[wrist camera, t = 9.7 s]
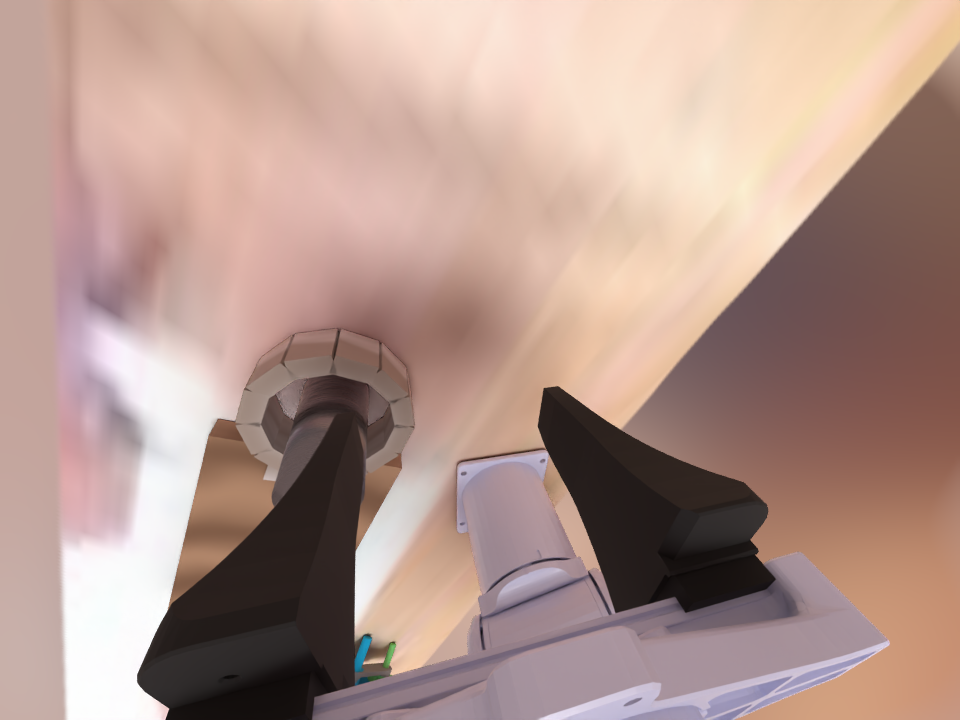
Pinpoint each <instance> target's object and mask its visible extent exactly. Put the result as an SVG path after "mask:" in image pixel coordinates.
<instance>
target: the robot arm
mask: <svg viewBox="0 0 960 720" xmlns="http://www.w3.org/2000/svg"><path fill="white" fill-rule="evenodd" d="M538 428H539V431H540V434H541V437H542V439H543V442H544V445H545V447H546V449H547V451H548V452H547V451H546V450H539V451H532V452H525V453H519V454H512V455H506V456H499V457H493V458H486V459H479V460H473V461H466V462H461V463H459V464H458V466H457V520H456V528H457V532H458V533H464V532H468V534H469V539H470V544H471V548H472V553H473V557H474V562H475V567H476V571H477V576H478V581H479V585H480V590H481V593H482V595H481V596H479V597H478V601H479V606H480V611H481V614H479V615H476V616H474V617H473V619H472V622H471V626H470V628H469V631H468V636H467V645H468V646H467V647H468V655H464V656H461V657H457V658H454V659H450V660H447V661H443V662H439V663H436V664H432V665H429V666H425V667H421V668H418V669H414V670H411V671H407V672H403V673H400V674H396V675H393V676H389V677H385V678H382V679H378V680H375V681H371V682H368V683H364V684H360V685H357V686H355V646H354V610H355V550H356V537H357V529H358V521H359V513H360V504H361V496H362V487H363V478H364V457H363V448H362V443H361V438H360V433H359V429H358V424H357V419H356V415H355V412H349V413H341V414H336V415H335V416H334V418H333V420H332V422H331V424H330V426H329V428H328V430H327V432H326V433H325V435H324V437H323V439H322V440H321V442H320V444H319V446H318V447H317V449H316V450H315V452H314V454H313V455H312V457H311V458H310V460H309V462H308V463H307V465H306V466H305V467H304V469H303V470H302V472H301V473H300V474H299V476H298V477H297V479H296V480H295V482H294V483H293V484H292V486H291V487H290V488H289V490H288V491H287V492H286V493H285V495H284V496H283V497H282V498H281V500H280V501H279V502H278V503H277V504H276V506H275V507H274V508H273V509H272V510H271V511H270V512H269V514H268V515H267V516H266V517H265V518H264V519H263V520H262V521H261V522H260V524H259V525H258V526H257V527H256V528H255V529H254V530H253V531H252V532H251V533H250V534H249V535H248V536H247V537H246V538H245V539H244V540H243V541H242V542H241V543H240V544H239V545H238V546H237V547H236V548H235V549H234V550H233V551H232V552H231V553H230V554H229V555H228V556H226V557H225V558H224V559H223V560H222V561H221V562H220V563H219V564H218V565H217V566H216V567H215V568H214V569H212V570H211V571H210V572H209V573H208V574H207V575H205V576H204V577H203V578H202V579H201V580H199V581H198V582H197V583H196V584H195V585H193V586H192V587H191V588H190V589H189V590H187V591H186V592H185V593H184V594H183V595H181V596H180V597H179V598H178V599H176V600H175V601H174V602H173V603H172V604H171V605H170V607H169V609H168V611H167V613H166V615H165V616H164V618H163V620H162V622H161V623H160V625H159V627H158V629H157V631H156V633H155V636H154V638H153V640H152V642H151V645H150V647H149V649H148V651H147V654H146V656H145V658H144V660H143V663H142V665H141V667H140V669H139V672H138V674H137V683H138V684H139V686H140V687H141V688H142V689H143V690H144V691H145V692H146V693H147V694H149V695H150V696H152V697H153V698H155V699H156V700H158V701H159V702H161V703H162V704H163V705H165V706H166V707H168V708H169V711H168V714H167V717H166V720H735V719H737V718H739V717H742V716H744V715H746V714H749V713H751V712H753V711H756V710H758V709H760V708H763V707H765V706H767V705H770V704H772V703H775V702H777V701H779V700H782V699H784V698H786V697H789V696H791V695H794V694H796V693H799V692H801V691H804V690H806V689H809V688H811V687H814V686H817V685H819V684H822V683H824V682H827V681H830V680H832V679H835V678H837V677H839V676H840V675H842V674H843V673H845V672H847V671H848V670H850V669H852V668H853V667H855V666H856V665H858V664H860V663H861V662H863V661H864V660H866V659H868V658H869V657H871V656H873V655H874V654H876V653H878V652H879V651H881V650H882V649H884V648H886V647H887V646H889V645H890V643H889V640H888V639H887V638H886V637H885V636H884V635H883V634H882V633H881V632H880V631H879V630H878V629H877V628H876V627H875V626H874V625H873V624H872V623H871V622H870V621H869V620H868V619H867V618H866V617H865V616H864V615H863V614H862V613H861V612H860V611H859V610H858V609H857V608H856V607H855V606H854V605H853V604H852V603H851V602H850V601H849V600H848V599H847V598H846V597H845V596H844V595H843V594H842V593H841V592H840V591H839V590H838V589H837V588H836V587H835V586H834V585H833V584H832V583H831V582H830V581H829V580H828V579H827V578H826V577H825V576H824V575H823V574H822V573H821V572H820V571H819V569H818V568H817V567H815V566H814V564H813V563H811V562H810V560H809V559H808V558H807V557H806V556H805V555H804V554H803V553H801V552H795V553H791V554H787V555H784V556H780V557H776V558H773V559H771V560H768V561H767V562H765V563H764V564H762V562H761V561H760V560H759V559H758V558H757V557H756V556H755V554H757V553H758V552H759V551H758V548H756V546H755V545H754V544H753V543H752V542H751V541H750V539H751V538H752V537H753V535H754V534H755V533H756V532H757V530H758V529H759V528H760V527H761V525H762V524H763V523H764V521H765V519H766V518H767V514H768V507H767V504H766V503H764V502H763V501H762V500H761V499H760V498H759V497H758V496H757V495H756V494H755V493H754V492H753V491H752V490H751V489H750V488H749V487H748V486H747V485H746V484H745V483H744V482H741V481H738V480H735V479H731V478H728V477H725V476H722V475H718V474H715V473H712V472H709V471H707V470H704V469H701V468H698V467H696V466H693V465H691V464H688V463H686V462H683V461H681V460H678V459H676V458H674V457H672V456H669V455H667V454H665V453H663V452H661V451H658V450H656V449H654V448H652V447H650V446H648V445H646V444H644V443H642V442H641V441H639V440H637V439H635V438H633V437H632V436H630V435H628V434H626V433H625V432H623V431H622V430H620V429H618V428H617V427H615V426H614V425H612V424H610V423H609V422H607V421H606V420H604V419H603V418H601V417H600V416H599V415H597V414H596V413H594V412H593V411H591V410H590V409H589V408H587V407H586V406H585V405H583V404H582V403H580V402H579V401H578V400H576V399H575V398H574V397H572V396H571V395H570V394H568V393H567V392H565V391H564V390H563V389H561V388H560V387H558V386H557V387H549V388H544V390H543V396H542V403H541V409H540V415H539V422H538ZM548 453H549V454H548ZM549 455H550V457H551V459H552V461H553V463H554V465H555V467H556V468H557V470H558V472H559V474H560V476H561V478H562V479H563V481H564V483H565V485H566V487H567V489H568V491H569V492H570V494H571V496H572V498H573V500H574V502H575V504H576V506H577V509H578V511H579V514H580V516H581V519H582V521H583V523H584V526H585V528H586V531H587V533H588V536H589V539H590V541H591V544H592V546H593V549H594V551H595V554H596V557H597V560H598V563H599V565H600V568H601V571H602V572H600V571H599V570H598V569H596V568H593V569H591V570H589V571H588V572H587V570H586V568H585V566H584V564H583V561H582V560H581V557H576V555H575V553H574V550H573V548H572V546H571V544H570V542H569V540H568V537H567V535H566V533H565V531H564V529H563V527H562V524H561V522H560V520H559V518H558V515H557V513H556V511H555V509H554V507H553V504H552V502H551V500H550V498H549V496H548V493H547V491H546V489H545V487H544V485H543V481H544V476H545V471H546V467H547V462H548V457H549Z"/></svg>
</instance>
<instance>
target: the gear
mask: <svg viewBox="0 0 960 720" xmlns="http://www.w3.org/2000/svg"><path fill="white" fill-rule="evenodd" d="M371 640H372V638H371V637H370V636H365V635H364V637H363V639H362V642H361V645H360V647H359V650H358V653H357V655H356V658H355V686H357V685H360V684H364V683H368V682H371V681H375V680H378V679H382V678H385V677H389V676H392V675H390V673H391V670H392V668H391V666H389V664H390V661H391V658H392V656H393V653H394V650H395V647H396V644H395V643H390V646H389V649H388V652H387V655H386V658H385V660H384V663H376V664H364V665H363V662H364V659H365V657H366V654H367V651H368V649H369V646H370V643H371Z"/></svg>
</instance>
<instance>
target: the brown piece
mask: <svg viewBox="0 0 960 720" xmlns="http://www.w3.org/2000/svg"><path fill="white" fill-rule="evenodd" d="M326 375H337V376H341V377H345V378H348V379H352V380H356V381H360V382H363V383H367V384H369V385H370V386H371V387H372V388H373V389H374V390H376V391H377V392H378V393H379V394H380V395H381V396H382V397H383V398H384V399H386V400H387V401H388V402H389V403H390V405H389V407H388V409H387V411H386V413H385V415H384V417H382V418H381V419H379V420H378V421H376V422H375V423H373V424H372V425H370V426H369V427H368V429H367V452H366V475H365V495H364V499H363V502H362V503H361V505H360V513H359V521H358V529H357V537H356V549H357V548H358V546H359V544H360V542H361V540H362V539H363V537H364V535H365V533H366V531H367V530H368V528H369V526H370V524H371V523H372V521H373V519H374V517H375V515H376V514H377V512H378V510H379V508H380V506H381V505H382V503H383V501H384V499H385V498H386V496H387V494H388V492H389V490H390V489H391V487H392V485H393V483H394V481H395V480H396V478H397V476H398V474H399V472H400V471H401V469H402V463H401V452H402V450H403V448H404V446H405V444H406V443H407V441H408V439H409V437H410V435H411V433H412V432H413V430H414V426H415V423H414V414H413V405H412V396H411V390H410V385H409V379H408V373H407V369H406V366H405V365H404V364H403V363H402V362H401V361H400V360H399V359H398V358H397V357H396V356H395V355H394V354H393V353H392V352H391V351H390V350H389V349H388V348H387V347H386V346H385V345H384V344H383V343H381V344H380V345H379V341H378V340H375V339H371V338H368V337H365V336H362V335H359V334H356V333H353V332H350V331H346V330H343V329H341V331H340V333H338V329H329V330H321V331H313V332H305V333H297V334H295V336H293V335H291V336H290V337H288V338H287V339H286V340H284V341H283V342H282V343H280V344H279V345H277V346H276V347H275V348H273V349H272V350H270V351H269V352H268V353H266V354H265V355H264V356H262V357H261V359H260V360H259V362H258V364H257V366H256V368H255V370H254V372H253V373H252V375H251V377H250V379H249V381H248V383H247V385H246V387H245V389H244V391H243V395H242V398H241V402H240V406H239V409H238V413H237V417H236V420H235V422H232V421H227V420H221V419H218V420H217V422H216V424H215V425H214V427H213V429H212V431H211V433H210V434H209V436H208V441H207V445H206V449H205V453H204V458H203V462H202V466H201V471H200V475H199V479H198V483H197V488H196V492H195V496H194V500H193V505H192V509H191V513H190V517H189V522H188V526H187V530H186V534H185V539H184V543H183V547H182V551H181V556H180V560H179V564H178V568H177V573H176V577H175V581H174V586H173V590H172V594H171V598H170V603H169V607H170V605H171V604H172V603H173V602H174V601H175V600H176V599H178V598H179V597H180V596H181V595H183V594H184V593H185V592H186V591H187V590H189V589H190V588H191V587H192V586H193V585H195V584H196V583H197V582H198V581H199V580H201V579H202V578H203V577H204V576H205V575H207V574H208V573H209V572H210V571H211V570H212V569H214V568H215V567H216V566H217V565H218V564H219V563H220V562H221V561H222V560H223V559H224V558H225V557H226V556H228V555H229V554H230V553H231V552H232V551H233V550H234V549H235V548H236V547H237V546H238V545H239V544H240V543H241V542H242V541H243V540H244V539H245V538H246V537H247V536H248V535H249V534H250V533H251V532H252V531H253V530H254V529H255V528H256V527H257V526H258V525H259V524H260V522H261V521H262V520H263V519H264V518H265V517H266V516H267V515H268V514H269V512H270V511H271V510H272V509H273V508H274V505H273V503H272V498H271V496H272V491H273V488H274V485H275V481H276V478H277V475H278V471H279V468H280V465H281V461H282V458H283V455H284V451H285V448H286V445H287V442H288V438H289V435H290V432H291V428H292V425H293V422H294V421H293V420H292V419H290V418H289V417H287V416H286V415H284V413H283V411H282V409H281V406H280V404H279V402H278V399H277V397H276V395H275V394H276V393H278V392H279V391H281V390H282V389H283V388H285V387H286V386H288V385H289V384H291V383H292V382H293V381H295V380H299V379H305V378H312V377H319V376H326ZM355 551H356V550H355ZM169 607H168V609H169Z"/></svg>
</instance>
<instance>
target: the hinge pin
mask: <svg viewBox="0 0 960 720" xmlns="http://www.w3.org/2000/svg"><path fill="white" fill-rule="evenodd" d="M368 406H369V390H368V386H367V384H366V383H363V382H360V381H356V380H352V379H348V378H345V377H341V376H337V375H326V376H319V377H312V378H309V379H308V380H307V382H306V383H305V386H304V389H303V392H302V395H301V399H300V402H299V405H298V409H297V412H296V415H295V418H294V422H293V425H292V428H291V432H290V435H289V438H288V442H287V445H286V448H285V451H284V455H283V458H282V461H281V465H280V468H279V471H278V475H277V478H276V481H275V485H274V488H273V491H272V496H271V498H272V503H273V505H274V507H275V506H276V504H277V503H278V502H279V501H280V500H281V498H282V497H283V496H284V495H285V493H286V492H287V491H288V490H289V488H290V487H291V486H292V484H293V483H294V482H295V480H296V479H297V477H298V476H299V474H300V473H301V472H302V470H303V469H304V467H305V466H306V465H307V463H308V462H309V460H310V458H311V457H312V455H313V454H314V452H315V450H316V449H317V447H318V446H319V444H320V442H321V440H322V439H323V437H324V435H325V433H326V432H327V430H328V428H329V426H330V424H331V422H332V420H333V418H334V416H335V415H336V414H341V413H349V412H355V415H356V419H357V424H358V429H359V433H360V438H361V443H362V448H363V457H364V478H363V487H362V496H361V503H362V502H363V499H364V495H365V475H366V452H367V429H368ZM360 505H361V504H360Z"/></svg>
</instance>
